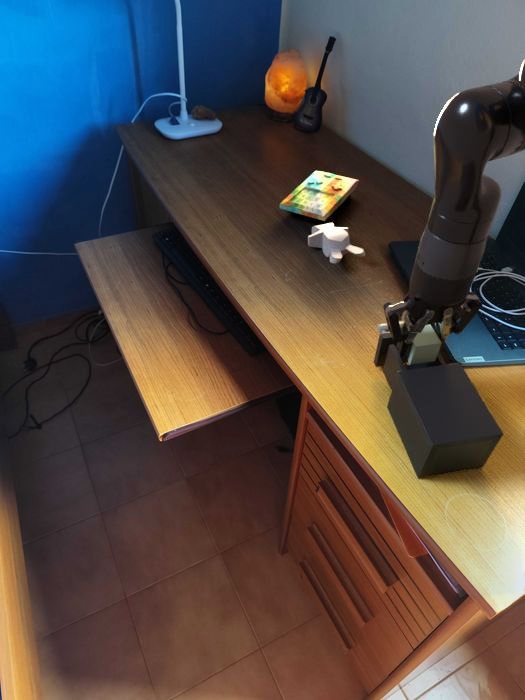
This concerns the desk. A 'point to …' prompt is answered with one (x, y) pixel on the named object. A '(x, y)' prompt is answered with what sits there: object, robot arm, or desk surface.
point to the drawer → (395, 356)
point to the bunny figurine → (333, 241)
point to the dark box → (442, 420)
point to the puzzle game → (319, 195)
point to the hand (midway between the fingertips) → (417, 352)
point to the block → (424, 347)
